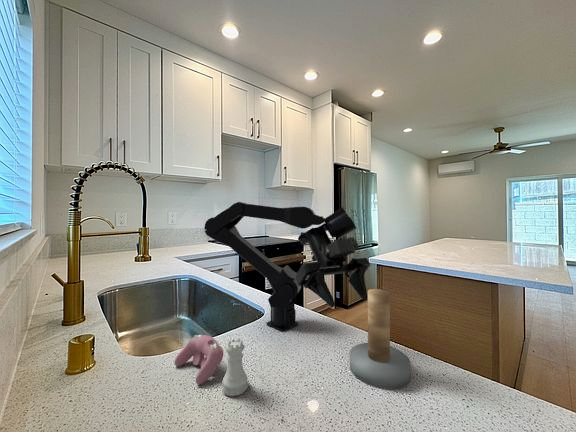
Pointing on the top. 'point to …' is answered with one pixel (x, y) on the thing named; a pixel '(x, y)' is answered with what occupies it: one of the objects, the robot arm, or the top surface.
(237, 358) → the rook chess piece
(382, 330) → the teak pillar
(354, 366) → the grey plinth
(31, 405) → the top surface
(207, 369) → the video game controller
